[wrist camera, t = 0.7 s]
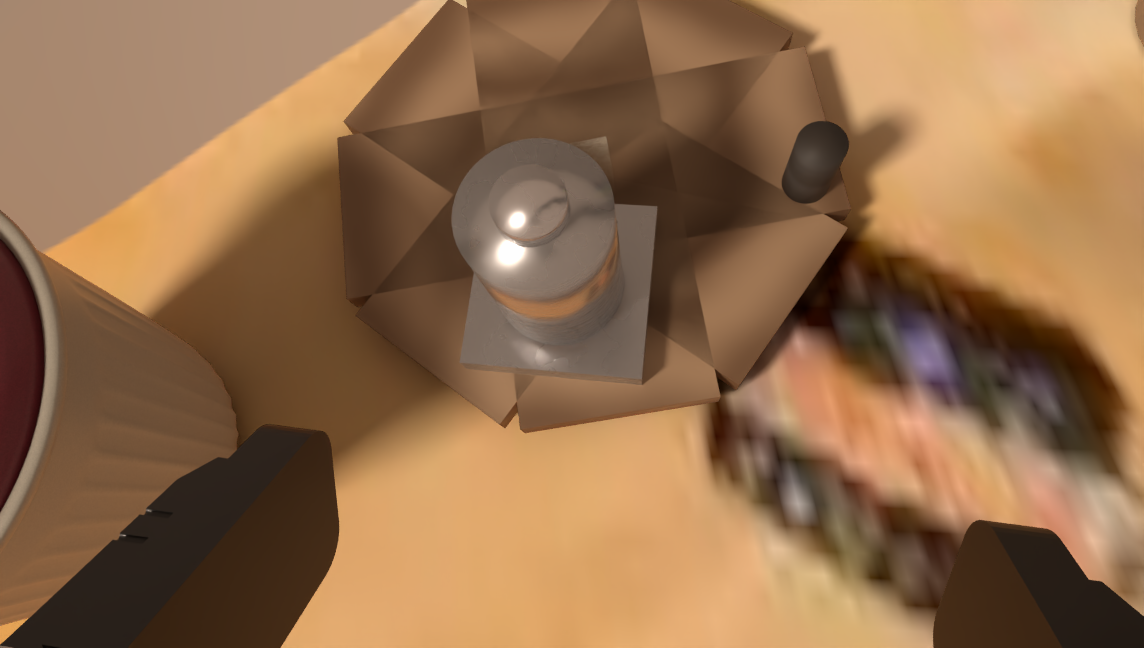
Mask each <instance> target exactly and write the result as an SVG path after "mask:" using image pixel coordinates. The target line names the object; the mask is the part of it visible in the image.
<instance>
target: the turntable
mask: <svg viewBox="0 0 1144 648" xmlns="http://www.w3.org/2000/svg"><path fill="white" fill-rule="evenodd" d="M466 1H467V8H465V7H464V6H462V5H460V4H459V3H457V2H455V1H453V0H448V1H447V2H446V3H445V4H444V5H443V6H442V8H441V9H440V10H439V11H438V12H437V13H436V15H435V16H434V17H433V18H432V19H431V20H430V22H429V23H428V24H427V25H426V26H425V27H424V29H423V30H422V31H421V32H420V33H419V34H418V35H417V37H416V38H415V39H414V40H413V41H412V42H411V44H410V45H409V46H408V47H407V48H406V49H405V51H404V52H403V53H402V54H401V55H400V56H399V58H398V59H397V60H396V61H395V62H394V63H393V64H392V66H391V67H390V68H389V69H388V70H387V71H386V73H385V74H384V75H383V76H382V77H381V78H380V80H379V81H378V82H377V83H376V84H375V85H374V86H373V88H372V89H371V90H370V91H369V92H368V93H367V95H366V96H365V97H364V98H363V99H362V100H361V102H360V103H359V104H358V105H357V106H356V107H355V109H354V110H353V111H352V112H351V113H350V114H349V115H348V117H347V118H346V119H345V120H344V123H345V124H346V125H347V127H348V128H349V129H350V130H351V132H352V133H353V134H354V135H349V136H344V137H339V138H338V156H339V173H340V190H341V208H342V225H343V242H344V259H345V277H346V294H347V300H349V301H350V302H351V303H353V304H354V305H355V306H357V307H359V306H363V307H362V308H361V309H360V310H359V312H358V313H357V314H356V315H355V316H357V317H358V318H359V319H361V320H362V321H363V322H365V323H366V324H367V325H369V326H370V327H371V328H373V329H374V330H375V331H377V332H378V333H379V334H381V335H382V336H383V337H384V338H386V339H387V340H388V341H390V342H391V343H392V344H394V345H395V346H396V347H398V348H399V349H400V350H402V351H403V352H404V353H406V354H407V355H408V356H410V357H411V358H412V359H414V360H415V361H416V362H418V363H419V364H420V365H421V366H423V367H424V368H425V369H427V370H428V371H429V372H431V373H432V374H433V375H435V376H436V377H437V378H439V379H440V380H441V381H443V382H444V383H445V384H447V385H448V386H449V387H451V388H452V389H453V390H455V391H456V392H457V393H459V394H460V395H461V396H462V397H464V398H465V399H466V400H468V401H469V402H470V403H472V404H473V405H474V406H476V407H477V408H478V409H480V410H481V411H482V412H484V413H485V414H486V415H488V416H489V417H490V418H492V419H493V420H494V421H496V422H497V423H498V424H499V425H501V426H503V427H504V428H506V426H507V425H508V424H509V422H510V421H511V420H512V418H513V417H514V416H515V414H516V413H517V412H518V415H519V423H520V430H522V431H523V432H524V433H529V432H535V431H541V430H547V429H553V428H559V427H566V426H572V425H578V424H584V423H590V422H596V421H602V420H608V419H614V418H620V417H627V416H633V415H639V414H645V413H651V412H657V411H663V410H669V409H675V408H682V407H688V406H694V405H700V404H706V403H712V402H718V401H719V399H720V392H719V387H718V383H717V378H719V379H720V380H722V381H723V382H725V383H726V384H728V385H729V386H731V387H732V388H734V389H735V390H737V388H738V387H739V385H740V384H741V382H742V381H743V380H744V378H745V377H746V375H747V374H748V372H749V371H750V369H751V368H752V367H753V365H754V364H755V362H756V361H757V359H758V358H759V356H760V355H761V354H762V352H763V351H764V349H765V348H766V346H767V345H768V343H769V342H770V341H771V339H772V338H773V336H774V335H775V333H776V332H777V330H778V329H779V328H780V326H781V325H782V323H783V322H784V320H785V319H786V317H787V316H788V314H789V313H790V312H791V310H792V309H793V307H794V306H795V304H796V303H797V301H798V300H799V299H800V297H801V296H802V294H803V293H804V291H805V290H806V288H807V287H808V286H809V284H810V283H811V281H812V280H813V278H814V277H815V275H816V274H817V273H818V271H819V270H820V268H821V267H822V265H823V264H824V262H825V261H826V260H827V258H828V257H829V255H830V254H831V252H832V251H833V249H834V248H835V247H836V245H837V244H838V242H839V241H840V239H841V238H842V236H843V235H844V233H845V232H846V230H847V229H848V228H847V227H845V226H844V225H842V224H840V223H838V222H837V221H841V220H844V219H845V218H846V216H847V214H848V213H849V211H850V210H851V207H850V203H849V200H848V196H847V193H846V189H845V186H844V182H843V179H842V175H841V172H840V168H839V167H840V165H841V163H842V161H843V159H844V157H845V155H846V154H847V151H848V147H849V141H848V138H847V135H846V133H845V132H844V131H843V130H842V129H841V128H840V127H839V126H838V125H836V124H834V123H831V122H827V121H826V119H825V116H824V112H823V109H822V105H821V102H820V98H819V95H818V91H817V88H816V84H815V81H814V77H813V74H812V70H811V67H810V63H809V60H808V56H807V53H806V49H805V47H800V48H795V49H790V50H788V49H789V45H790V42H791V38H792V34H793V33H792V32H790V31H788V30H786V29H784V28H782V27H780V26H778V25H776V24H774V23H772V22H770V21H768V20H766V19H764V18H762V17H761V16H759V15H757V14H755V13H753V12H751V11H749V10H747V9H745V8H743V7H741V6H739V5H737V4H735V3H733V2H731V1H729V0H466ZM530 138H546V139H554V140H558V141H563V142H565V143H568V144H571V145H573V146H575V147H577V148H579V149H581V150H582V151H584V152H585V153H586V154H588V155H589V156H590V157H591V158H592V159H593V160H595V161H596V162H597V164H598V165H599V166H600V167H601V169H602V170H603V172H604V173H605V175H606V177H607V178H608V181H609V183H610V186H611V188H612V192H613V196H614V204H625V205H642V206H657V227H656V238H655V249H654V260H653V271H652V282H651V293H650V304H649V315H648V326H647V337H646V348H645V360H644V371H643V382H642V385H635V384H624V383H613V382H602V381H592V380H581V379H570V378H559V377H548V376H537V375H526V374H516V373H505V372H494V371H483V370H472V369H466V368H465V367H464V366H463V365H462V364H461V363H459V362H460V356H461V350H462V344H463V337H464V331H465V325H466V319H467V312H468V306H469V300H470V294H471V287H472V281H473V275H474V272H473V270H472V269H471V267H470V266H469V265H468V263H467V262H466V260H465V259H464V257H463V256H462V255H461V253H460V251H459V249H458V247H457V245H456V242H455V239H454V235H453V230H452V208H453V203H454V199H455V196H456V193H457V191H458V188H459V186H460V184H461V182H462V181H463V179H464V177H465V176H466V175H467V173H468V172H469V170H470V169H471V168H472V167H473V166H474V165H475V164H476V163H477V162H478V161H479V160H480V159H482V158H483V157H484V156H485V155H487V154H488V153H490V152H491V151H493V150H495V149H497V148H499V147H501V146H503V145H505V144H508V143H511V142H514V141H518V140H523V139H530ZM716 377H717V378H716Z"/></svg>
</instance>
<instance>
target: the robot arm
mask: <svg viewBox="0 0 1144 648" xmlns="http://www.w3.org/2000/svg"><path fill="white" fill-rule="evenodd" d="M1135 23H1136V28H1137V32H1138V36H1139V38H1140V40H1141V42H1142V44H1143V46H1144V0H1138V2H1137V5H1136V11H1135ZM338 537H339V518H338V508H337V498H336V489H335V479H334V470H333V460H332V451H331V444H330V440H329V438H328V436H327V434H326V433H325V432H323V431H317V430H309V429H301V428H294V427H286V426H279V425H271V424H266V425H263V426H261V427H260V428H258V429H257V430H256V431H255V432H254V433H253V434H252V435H251V436H250V437H249V438H248V439H247V440H246V441H245V442H244V443H243V444H242V445H241V446H240V447H239V448H238V449H237V450H236V451H235V452H234V453H233V454H232V455H231V456H230V457H229V458H221V457H217V458H215V459H214V460H212V461H210V462H208V463H206V464H204V465H203V466H201V467H199V468H197V469H195V470H193V471H191V472H190V473H188V474H186V475H184V476H182V477H180V478H179V479H177V480H176V481H175V482H174V483H173V484H171V485H170V486H169V487H168V488H167V489H166V490H165V491H164V492H163V493H162V494H161V495H160V496H159V497H158V498H157V499H155V500H154V501H153V502H152V503H151V504H150V505H149V506H148V507H147V508H146V512H145V514H144V515H141V514H140V515H138V516H137V517H136V518H135V519H134V520H133V521H132V522H131V523H130V524H129V525H128V526H127V527H126V528H125V529H124V530H122V531H121V532H120V536H119V538H118V540H112V541H111V542H110V543H109V544H108V545H106V546H105V547H104V548H103V549H102V550H101V551H100V552H99V553H98V554H97V555H96V556H95V557H94V558H93V559H92V560H90V561H89V562H88V563H87V564H86V565H85V566H84V567H83V568H82V569H81V570H80V571H79V572H78V573H77V574H76V575H75V576H73V577H72V578H71V579H70V580H69V581H68V582H67V583H66V584H65V585H64V586H63V587H62V588H61V589H60V590H59V591H57V592H56V593H55V594H54V595H53V596H52V597H51V598H50V599H49V600H48V601H47V602H46V603H45V604H44V605H43V606H41V607H40V608H39V609H38V610H37V611H36V612H35V613H34V614H33V615H32V616H31V617H30V618H29V619H28V620H27V621H26V622H24V623H23V624H22V625H21V626H20V627H19V628H18V629H17V630H16V631H15V632H14V633H13V634H12V635H11V636H10V637H8V638H7V639H6V640H5V641H4V642H3V643H2V644H0V648H281V646H282V644H283V643H284V641H285V640H286V638H287V636H288V635H289V633H290V632H291V630H292V628H293V627H294V625H295V624H296V622H297V620H298V619H299V617H300V616H301V614H302V613H303V611H304V609H305V608H306V606H307V605H308V603H309V601H310V600H311V598H312V597H313V595H314V593H315V592H316V590H317V589H318V587H319V585H320V584H321V582H322V581H323V579H324V577H325V576H326V574H327V572H328V571H329V568H330V566H331V564H332V561H333V559H334V555H335V552H336V548H337V543H338ZM933 646H934V648H1144V616H1143V615H1141V614H1140V613H1139V612H1138V611H1136V610H1135V609H1134V608H1133V607H1132V606H1130V605H1129V604H1128V603H1127V602H1126V601H1124V600H1123V599H1122V598H1121V597H1120V596H1118V595H1117V594H1116V593H1115V592H1114V591H1112V590H1111V589H1110V588H1109V587H1108V586H1106V585H1105V584H1104V583H1103V582H1100V581H1093V580H1089V579H1088V578H1087V577H1086V575H1085V574H1084V572H1083V571H1082V569H1081V568H1080V567H1079V565H1078V564H1077V562H1076V561H1075V559H1074V558H1073V557H1072V555H1071V554H1070V552H1069V551H1068V549H1067V548H1066V547H1065V545H1064V544H1063V542H1062V541H1061V539H1060V538H1059V537H1058V536H1057V535H1056V534H1055V533H1054V532H1053V531H1051V530H1049V529H1044V528H1037V527H1029V526H1021V525H1014V524H1006V523H999V522H991V521H984V520H977V521H975V522H973V523H972V524H971V525H970V526H969V528H968V530H967V531H966V534H965V536H964V539H963V542H962V544H961V547H960V550H959V552H958V555H957V558H956V561H955V563H954V566H953V569H952V572H951V574H950V577H949V580H948V583H947V585H946V588H945V591H944V593H943V596H942V599H941V602H940V604H939V607H938V610H937V613H936V616H935V621H934V629H933Z"/></svg>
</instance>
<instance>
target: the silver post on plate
mask: <svg viewBox="0 0 1144 648" xmlns="http://www.w3.org/2000/svg"><path fill="white" fill-rule="evenodd" d="M656 227H657V206H642V205H625V204H614V196H613V192H612V188H611V186H610V183H609V181H608V178H607V177H606V175H605V173H604V172H603V170H602V169H601V167H600V166H599V165H598V164H597V162H596V161H595V160H593V159H592V158H591V157H590V156H589V155H588V154H586V153H585V152H584V151H582V150H581V149H579V148H577V147H575V146H573V145H571V144H568V143H565V142H563V141H558V140H554V139H546V138H530V139H523V140H518V141H514V142H511V143H508V144H505V145H503V146H501V147H499V148H497V149H495V150H493V151H491V152H490V153H488V154H487V155H485V156H484V157H483V158H482V159H480V160H479V161H478V162H477V163H476V164H475V165H474V166H473V167H472V168H471V169H470V170H469V172H468V173H467V175H466V176H465V177H464V179H463V181H462V182H461V184H460V186H459V188H458V191H457V193H456V196H455V199H454V203H453V208H452V230H453V235H454V239H455V242H456V245H457V247H458V249H459V251H460V253H461V255H462V256H463V257H464V259H465V260H466V262H467V263H468V265H469V266H470V267H471V269H472V270H473V272H474V275H473V281H472V287H471V294H470V300H469V306H468V312H467V319H466V325H465V331H464V337H463V344H462V350H461V356H460V362H459V363H461V364H462V365H463V366H464V367H465V368H466V369H472V370H483V371H494V372H505V373H516V374H526V375H537V376H548V377H559V378H570V379H581V380H592V381H602V382H613V383H624V384H635V385H642V382H643V371H644V360H645V348H646V337H647V326H648V315H649V304H650V293H651V282H652V271H653V260H654V249H655V238H656Z"/></svg>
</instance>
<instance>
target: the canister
mask: <svg viewBox="0 0 1144 648" xmlns="http://www.w3.org/2000/svg"><path fill="white" fill-rule="evenodd" d="M238 436H239V434H238V431H237V428H236V414H235V412H234V411H233V409H232V399H231V397H230V395H229V394H228V393H227V392H226V390H225V386H224V383H223V381H222V379H221V378H220V377H219V376H218V375H217V374H216V373H215V371H214V369H213V367H212V366H211V364H210V363H209V362H208V361H207V360H206V359H204V358H203V357H202V356H200V355H199V353H198V352H197V351H196V350H195V349H194V348H193V347H191V346H190V345H189V344H187V343H186V342H185V341H183V340H182V339H180V338H179V337H177V336H176V335H174V334H173V333H171V332H169V331H168V330H166V329H165V328H163V327H162V326H160V325H159V324H157V323H156V322H154V321H153V320H151V319H150V318H148V317H146V316H145V315H143V314H142V313H140V312H138V311H137V310H135V309H134V308H132V307H130V306H129V305H127V304H126V303H124V302H122V301H121V300H119V299H117V298H116V297H114V296H113V295H111V294H109V293H108V292H106V291H104V290H103V289H101V288H99V287H98V286H96V285H94V284H93V283H91V282H89V281H88V280H86V279H84V278H83V277H81V276H79V275H78V274H76V273H74V272H73V271H71V270H69V269H68V268H66V267H64V266H63V265H61V264H59V263H58V262H56V261H55V260H53V259H51V258H50V257H48V256H46V255H45V254H43V253H41V252H40V251H38V250H36V248H35V247H34V245H33V244H32V243H31V241H30V240H29V239H28V237H27V236H26V235H25V234H24V232H23V231H22V230H21V229H20V228H19V227H18V226H17V225H16V224H15V223H14V222H13V221H12V220H11V219H10V218H9V217H8V216H6V214H4V213H3V212H2V211H1V210H0V626H1V625H5V624H8V623H12V622H15V621H19V620H22V619H26V618H30V617H31V616H32V615H33V614H34V613H35V612H36V611H37V610H38V609H39V608H40V607H41V606H43V605H44V604H45V603H46V602H47V601H48V600H49V599H50V598H51V597H52V596H53V595H54V594H55V593H56V592H57V591H59V590H60V589H61V588H62V587H63V586H64V585H65V584H66V583H67V582H68V581H69V580H70V579H71V578H72V577H73V576H75V575H76V574H77V573H78V572H79V571H80V570H81V569H82V568H83V567H84V566H85V565H86V564H87V563H88V562H89V561H90V560H92V559H93V558H94V557H95V556H96V555H97V554H98V553H99V552H100V551H101V550H102V549H103V548H104V547H105V546H106V545H108V544H109V543H110V542H111V541H112V540H118V538H119V536H120V532H121V531H122V530H124V529H125V528H126V527H127V526H128V525H129V524H130V523H131V522H132V521H133V520H134V519H135V518H136V517H137V516H138V515H140V514H141V515H144V514H145V512H146V508H147V507H148V506H149V505H150V504H151V503H152V502H153V501H154V500H155V499H157V498H158V497H159V496H160V495H161V494H162V493H163V492H164V491H165V490H166V489H167V488H168V487H169V486H170V485H171V484H173V483H174V482H175V481H176V480H177V479H179V478H180V477H182V476H184V475H186V474H188V473H190V472H191V471H193V470H195V469H197V468H199V467H201V466H203V465H204V464H206V463H208V462H210V461H212V460H214V459H215V458H217V457H221V458H229V457H230V456H231V455H232V454H233V453H234V452H235V451H236V450H237V438H238Z"/></svg>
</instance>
